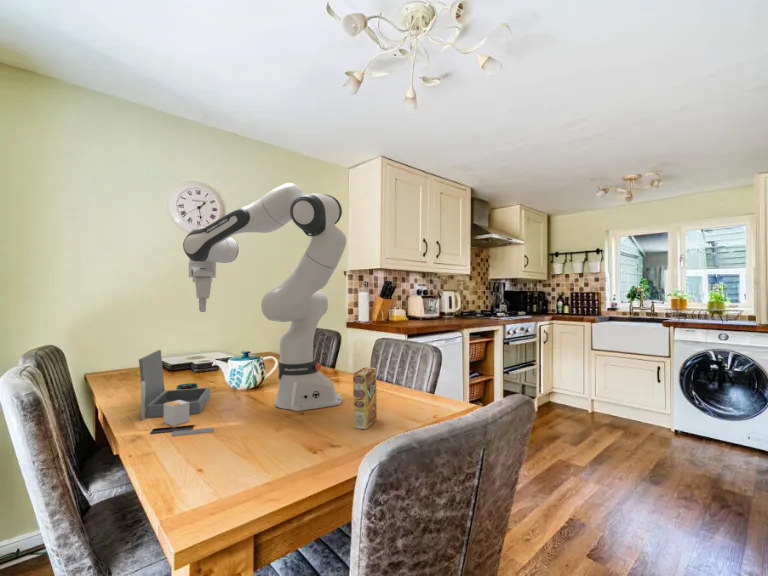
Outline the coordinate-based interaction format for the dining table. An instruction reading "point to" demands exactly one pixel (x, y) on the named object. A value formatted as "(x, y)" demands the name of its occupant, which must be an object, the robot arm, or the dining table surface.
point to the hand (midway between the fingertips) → (202, 311)
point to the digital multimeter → (187, 386)
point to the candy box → (364, 398)
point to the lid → (152, 376)
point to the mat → (171, 429)
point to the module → (176, 412)
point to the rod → (192, 431)
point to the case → (193, 396)
